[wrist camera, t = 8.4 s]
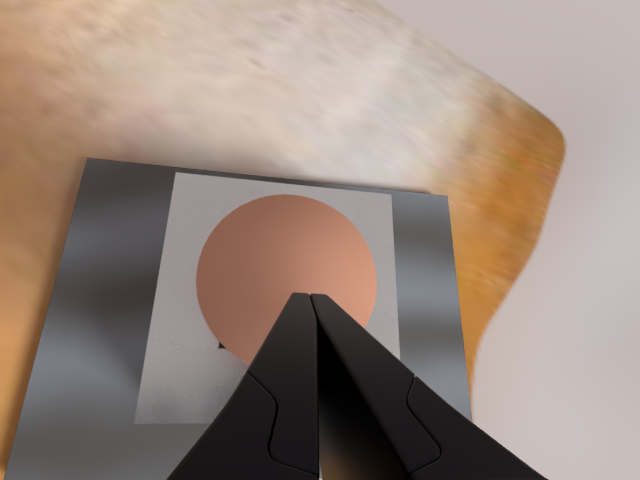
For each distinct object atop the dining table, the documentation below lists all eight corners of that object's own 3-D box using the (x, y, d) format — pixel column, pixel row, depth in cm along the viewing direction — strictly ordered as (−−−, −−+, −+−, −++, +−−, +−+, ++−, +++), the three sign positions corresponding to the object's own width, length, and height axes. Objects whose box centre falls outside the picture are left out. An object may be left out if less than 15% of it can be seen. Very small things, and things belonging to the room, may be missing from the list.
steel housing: (365, 409, 19) (403, 422, 15) (163, 410, 18) (133, 423, 13) (361, 230, 23) (391, 194, 18) (190, 216, 21) (175, 172, 16)
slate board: (467, 468, 20) (478, 473, 19) (14, 481, 17) (1, 488, 16) (440, 202, 26) (447, 195, 25) (93, 166, 22) (87, 157, 21)
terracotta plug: (335, 372, 19) (380, 373, 13) (205, 370, 18) (183, 369, 12) (335, 252, 21) (373, 202, 15) (219, 243, 20) (207, 186, 14)
